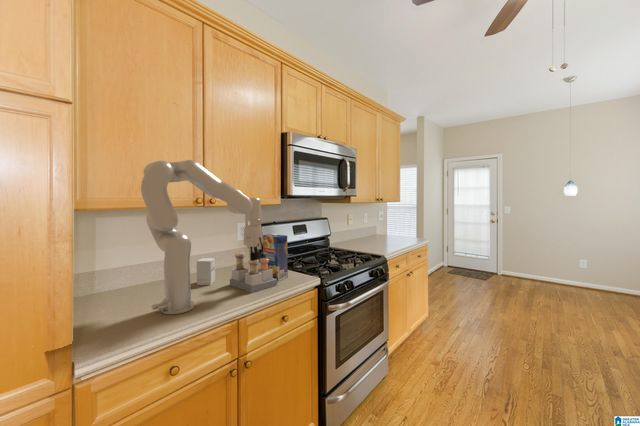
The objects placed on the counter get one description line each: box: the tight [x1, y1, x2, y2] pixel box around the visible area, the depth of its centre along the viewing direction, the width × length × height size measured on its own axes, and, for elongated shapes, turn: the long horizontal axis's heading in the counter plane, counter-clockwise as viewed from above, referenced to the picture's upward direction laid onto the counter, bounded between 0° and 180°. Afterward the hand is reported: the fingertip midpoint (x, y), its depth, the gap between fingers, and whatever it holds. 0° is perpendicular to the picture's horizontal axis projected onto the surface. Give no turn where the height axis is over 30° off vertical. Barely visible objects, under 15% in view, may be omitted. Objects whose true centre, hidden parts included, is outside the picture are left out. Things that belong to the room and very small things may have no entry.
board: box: [229, 267, 278, 294], centre depth 149 cm, size 16×19×8 cm
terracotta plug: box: [259, 257, 269, 271], centre depth 149 cm, size 5×5×9 cm
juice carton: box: [262, 233, 289, 282], centre depth 161 cm, size 12×8×24 cm, turn 51°
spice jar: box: [248, 258, 260, 275], centre depth 141 cm, size 5×5×9 cm
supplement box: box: [196, 257, 216, 286], centre depth 151 cm, size 7×7×13 cm
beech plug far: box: [234, 252, 246, 271], centre depth 149 cm, size 5×5×9 cm
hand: (254, 259), depth 141 cm, fingers closed
